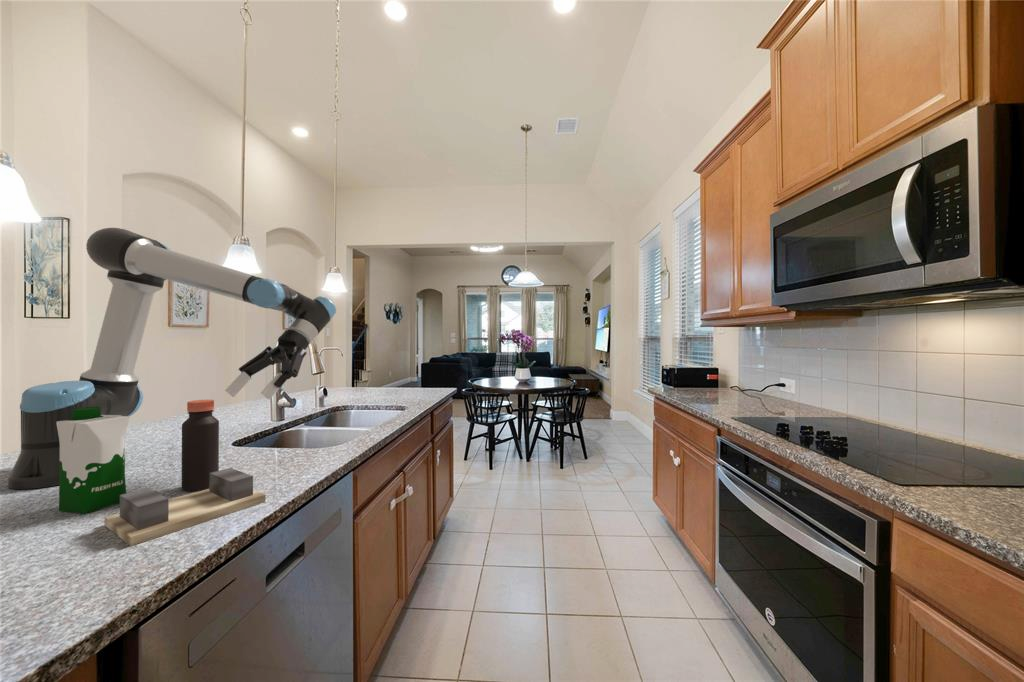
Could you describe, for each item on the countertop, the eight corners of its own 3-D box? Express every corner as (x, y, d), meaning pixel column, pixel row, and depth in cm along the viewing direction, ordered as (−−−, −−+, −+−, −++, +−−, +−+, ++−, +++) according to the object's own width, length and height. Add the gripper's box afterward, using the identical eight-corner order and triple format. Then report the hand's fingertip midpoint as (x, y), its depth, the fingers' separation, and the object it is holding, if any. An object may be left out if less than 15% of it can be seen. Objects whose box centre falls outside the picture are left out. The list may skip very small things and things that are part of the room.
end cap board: (104, 525, 71) (104, 495, 71) (233, 488, 89) (233, 464, 89) (130, 546, 64) (130, 513, 64) (265, 501, 82) (265, 475, 82)
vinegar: (173, 491, 87) (173, 403, 87) (198, 480, 94) (199, 398, 94) (202, 492, 87) (202, 403, 87) (225, 481, 94) (226, 399, 94)
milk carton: (103, 495, 85) (104, 404, 85) (135, 498, 83) (136, 406, 83) (48, 512, 76) (49, 411, 76) (83, 517, 75) (84, 413, 75)
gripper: (337, 346, 112) (290, 406, 98) (276, 346, 121) (226, 400, 107) (322, 327, 107) (271, 387, 93) (259, 328, 116) (205, 383, 102)
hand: (247, 394), depth 100 cm, fingers open, 13 cm apart
